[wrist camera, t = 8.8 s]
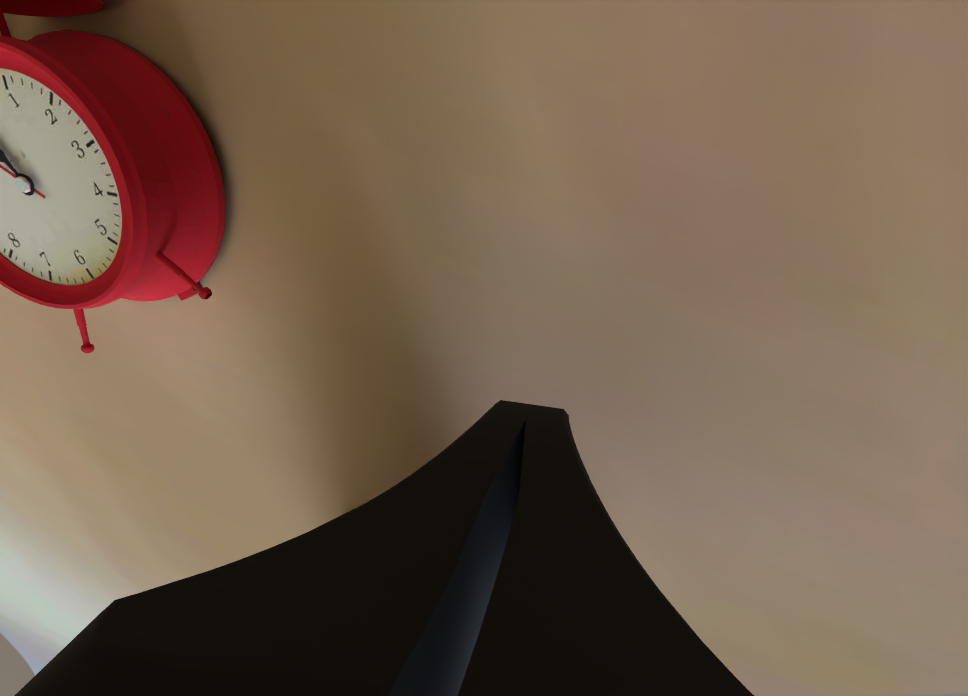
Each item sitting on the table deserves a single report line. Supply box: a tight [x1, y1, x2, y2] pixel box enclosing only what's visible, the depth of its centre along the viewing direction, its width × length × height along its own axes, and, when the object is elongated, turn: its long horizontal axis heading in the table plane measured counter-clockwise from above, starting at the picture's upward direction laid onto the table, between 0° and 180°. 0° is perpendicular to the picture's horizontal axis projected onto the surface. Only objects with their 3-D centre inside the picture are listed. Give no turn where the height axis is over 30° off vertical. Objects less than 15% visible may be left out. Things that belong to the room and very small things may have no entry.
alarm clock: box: [0, 0, 226, 353], centre depth 19 cm, size 10×6×15 cm
